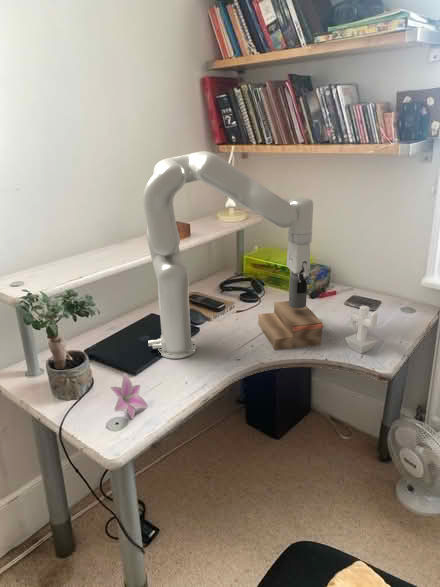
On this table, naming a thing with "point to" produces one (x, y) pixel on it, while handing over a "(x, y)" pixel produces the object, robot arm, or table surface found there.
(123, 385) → the lily
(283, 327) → the step stand
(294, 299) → the bottle
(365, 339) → the figurine
